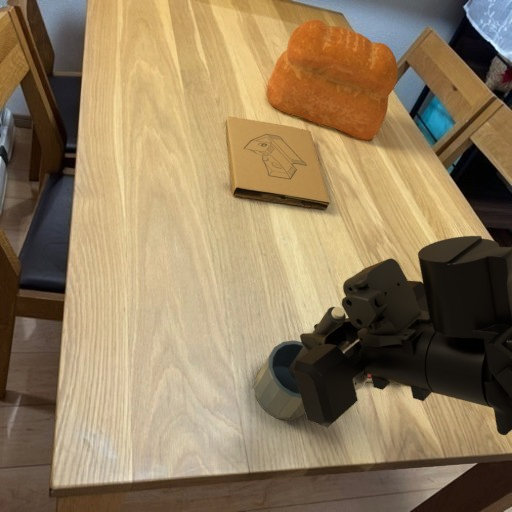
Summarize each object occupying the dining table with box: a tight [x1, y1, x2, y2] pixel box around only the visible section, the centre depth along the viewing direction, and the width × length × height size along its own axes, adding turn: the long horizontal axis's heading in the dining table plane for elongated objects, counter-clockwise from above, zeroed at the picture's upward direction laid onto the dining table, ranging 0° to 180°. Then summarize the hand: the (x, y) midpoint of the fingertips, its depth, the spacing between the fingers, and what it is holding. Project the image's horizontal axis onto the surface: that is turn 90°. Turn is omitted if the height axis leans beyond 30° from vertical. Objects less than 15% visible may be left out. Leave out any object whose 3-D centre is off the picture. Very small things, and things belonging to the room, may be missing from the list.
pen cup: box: [254, 339, 306, 421], centre depth 59 cm, size 7×7×6 cm
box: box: [225, 116, 331, 210], centre depth 91 cm, size 21×18×2 cm
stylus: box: [289, 306, 347, 379], centre depth 53 cm, size 2×2×13 cm
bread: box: [266, 19, 399, 141], centre depth 104 cm, size 16×26×17 cm, turn 81°
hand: (308, 333), depth 54 cm, fingers closed on stylus, 2 cm apart
